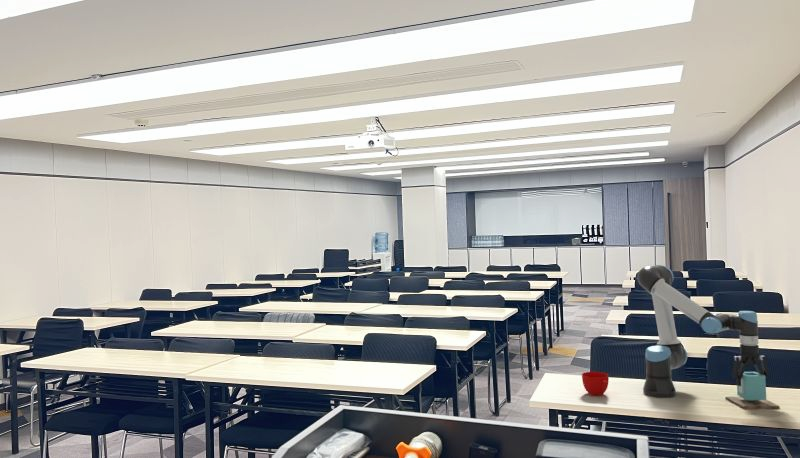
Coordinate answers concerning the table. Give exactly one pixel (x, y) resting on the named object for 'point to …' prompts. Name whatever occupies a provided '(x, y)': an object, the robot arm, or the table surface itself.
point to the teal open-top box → (753, 386)
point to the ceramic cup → (595, 382)
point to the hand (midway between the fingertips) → (751, 392)
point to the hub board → (752, 403)
